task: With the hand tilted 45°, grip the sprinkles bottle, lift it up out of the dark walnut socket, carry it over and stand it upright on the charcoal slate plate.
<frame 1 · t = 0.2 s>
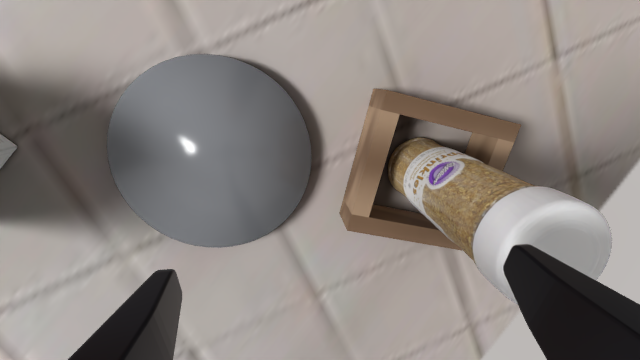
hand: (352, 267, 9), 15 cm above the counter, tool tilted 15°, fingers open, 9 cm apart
walnut socket: (414, 167, 25), on the counter
slate plate: (216, 155, 23), on the counter
sprinkles bottle: (413, 166, 25), resting in walnut socket
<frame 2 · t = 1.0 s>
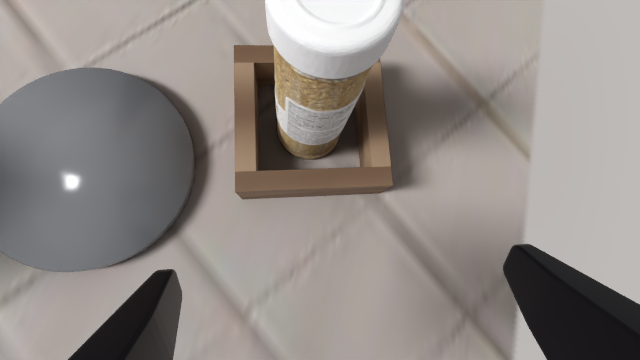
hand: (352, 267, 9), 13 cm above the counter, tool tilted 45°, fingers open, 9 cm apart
walnut socket: (308, 130, 23), on the counter
slate plate: (91, 167, 21), on the counter
sprinkles bottle: (308, 131, 24), resting in walnut socket
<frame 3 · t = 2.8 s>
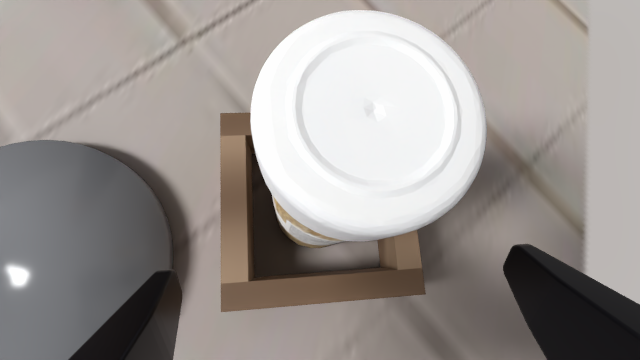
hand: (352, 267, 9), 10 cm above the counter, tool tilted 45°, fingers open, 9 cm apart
walnut socket: (314, 209, 19), on the counter
slate plate: (41, 266, 17), on the counter
sprinkles bottle: (314, 209, 19), resting in walnut socket
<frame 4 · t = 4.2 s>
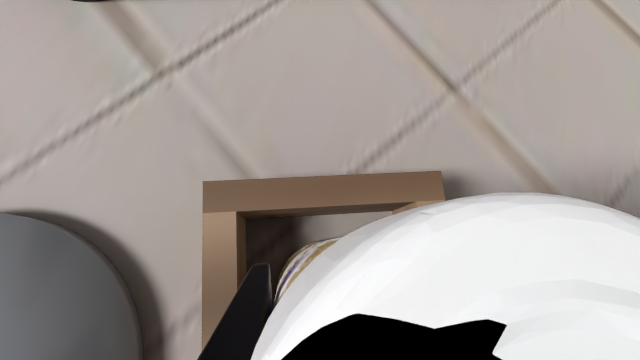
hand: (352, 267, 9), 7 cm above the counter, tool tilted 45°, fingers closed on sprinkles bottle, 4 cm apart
walnut socket: (326, 292, 15), on the counter
sprinkles bottle: (325, 291, 15), resting in walnut socket, touching gripper
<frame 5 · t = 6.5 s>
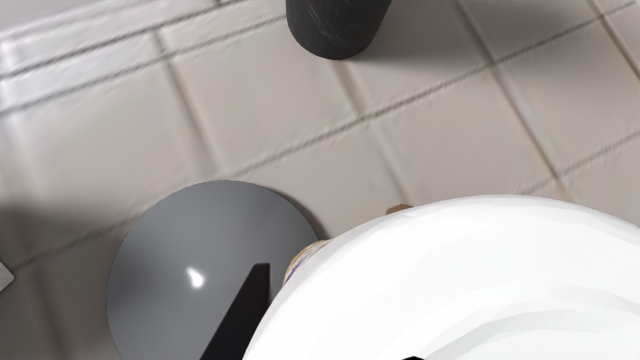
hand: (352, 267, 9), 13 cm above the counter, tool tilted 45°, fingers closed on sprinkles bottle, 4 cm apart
slate plate: (224, 284, 21), on the counter
travel mug: (332, 20, 26), on the counter
sprinkles bottle: (331, 290, 15), point 6 cm above the counter, touching gripper
when the fingers open (9 cm above the counter, at t = 8.3 s): sprinkles bottle drops 1 cm, resting on slate plate.
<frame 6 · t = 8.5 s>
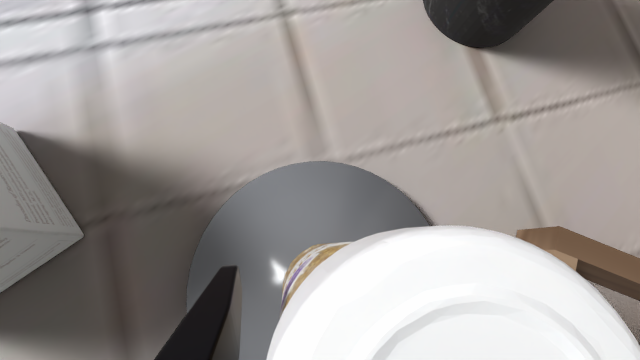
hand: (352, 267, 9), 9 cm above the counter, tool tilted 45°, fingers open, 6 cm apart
walnut socket: (578, 343, 18), on the counter
slate plate: (320, 286, 17), on the counter
travel mug: (471, 3, 22), on the counter
sprinkles bottle: (327, 290, 16), point 1 cm above the counter, touching slate plate
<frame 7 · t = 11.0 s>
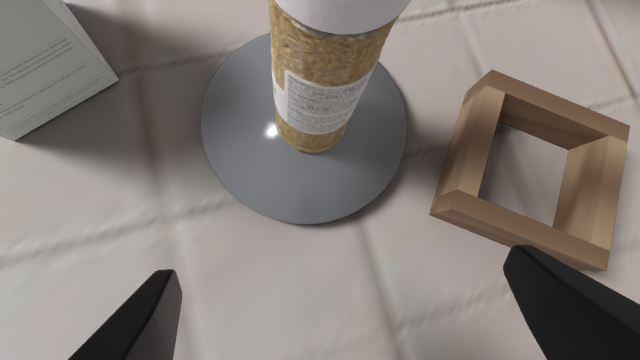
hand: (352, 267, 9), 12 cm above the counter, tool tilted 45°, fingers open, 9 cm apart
walnut socket: (512, 176, 22), on the counter
slate plate: (306, 125, 22), on the counter
supplement box: (40, 70, 21), on the counter
sprinkles bottle: (310, 122, 21), point 1 cm above the counter, touching slate plate
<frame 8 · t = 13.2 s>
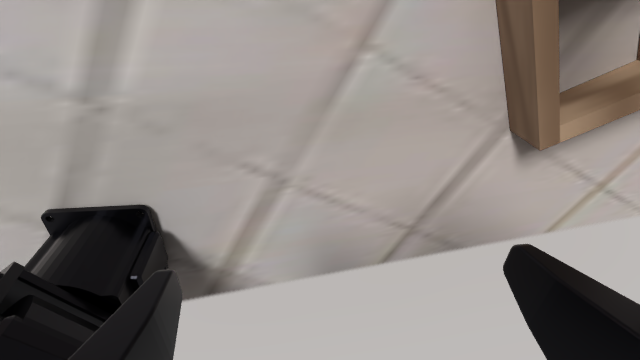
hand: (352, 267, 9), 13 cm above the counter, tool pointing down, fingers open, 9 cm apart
walnut socket: (582, 30, 19), on the counter
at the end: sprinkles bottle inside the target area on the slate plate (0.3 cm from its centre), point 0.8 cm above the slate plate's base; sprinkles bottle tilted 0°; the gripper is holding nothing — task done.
